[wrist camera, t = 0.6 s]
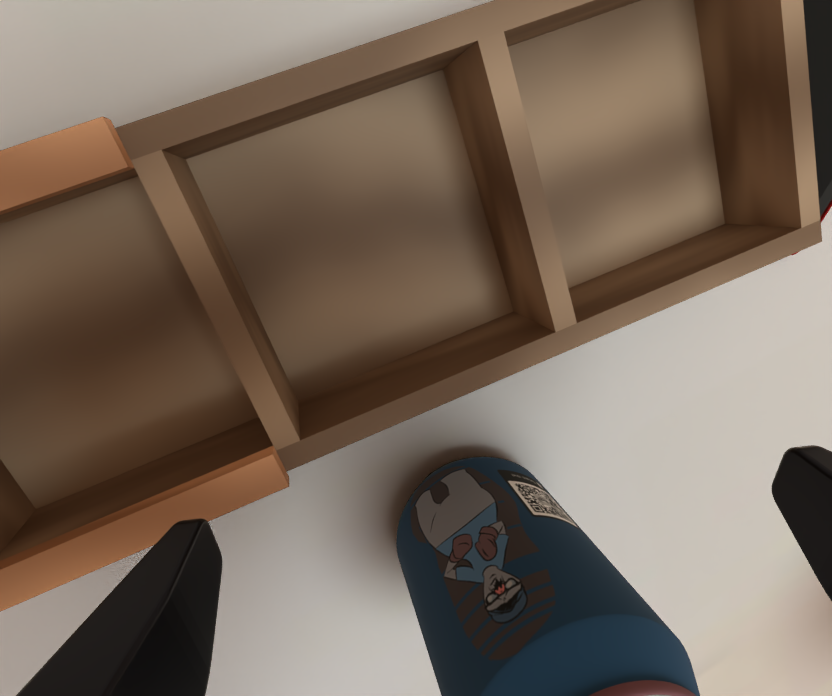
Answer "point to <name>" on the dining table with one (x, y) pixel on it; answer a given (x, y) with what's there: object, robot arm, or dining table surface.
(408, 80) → the rack
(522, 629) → the soda can
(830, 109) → the cell phone
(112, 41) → the dining table surface
